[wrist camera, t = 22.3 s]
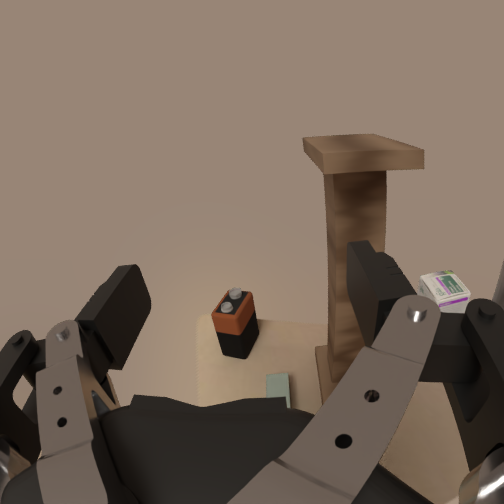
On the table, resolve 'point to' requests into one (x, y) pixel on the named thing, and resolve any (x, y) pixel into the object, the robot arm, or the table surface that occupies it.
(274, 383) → the peg
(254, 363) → the table surface
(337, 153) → the stand
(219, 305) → the battery
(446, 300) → the syrup box
